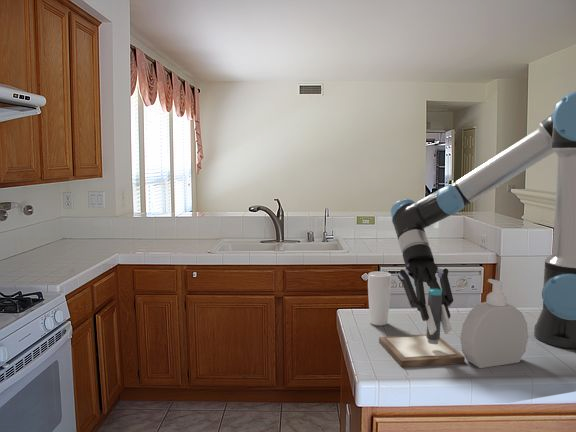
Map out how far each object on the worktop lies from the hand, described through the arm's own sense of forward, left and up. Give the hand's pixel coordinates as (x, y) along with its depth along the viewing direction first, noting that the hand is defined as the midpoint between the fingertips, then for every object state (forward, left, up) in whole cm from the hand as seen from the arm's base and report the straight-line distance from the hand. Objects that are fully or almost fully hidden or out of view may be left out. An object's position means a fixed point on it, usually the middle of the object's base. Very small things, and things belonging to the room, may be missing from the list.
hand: (440, 331), depth 123 cm
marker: (0, -4, -4) cm, 6 cm away
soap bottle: (-13, +2, -8) cm, 15 cm away
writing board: (+2, -7, -8) cm, 10 cm away
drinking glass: (+5, -30, -8) cm, 31 cm away
